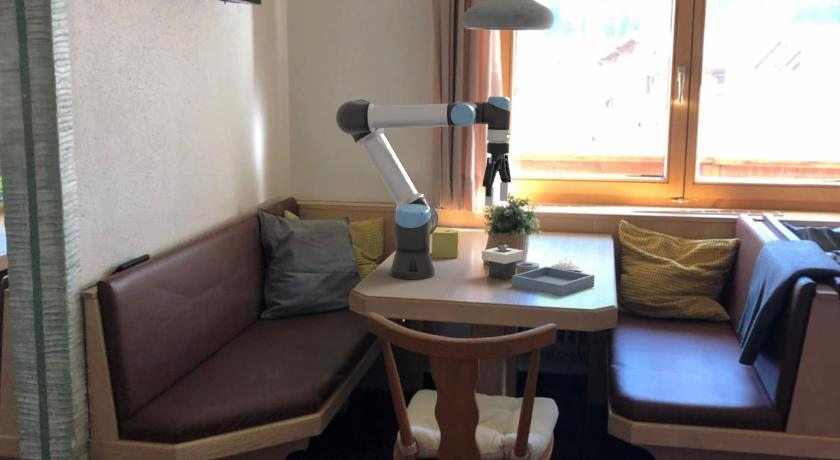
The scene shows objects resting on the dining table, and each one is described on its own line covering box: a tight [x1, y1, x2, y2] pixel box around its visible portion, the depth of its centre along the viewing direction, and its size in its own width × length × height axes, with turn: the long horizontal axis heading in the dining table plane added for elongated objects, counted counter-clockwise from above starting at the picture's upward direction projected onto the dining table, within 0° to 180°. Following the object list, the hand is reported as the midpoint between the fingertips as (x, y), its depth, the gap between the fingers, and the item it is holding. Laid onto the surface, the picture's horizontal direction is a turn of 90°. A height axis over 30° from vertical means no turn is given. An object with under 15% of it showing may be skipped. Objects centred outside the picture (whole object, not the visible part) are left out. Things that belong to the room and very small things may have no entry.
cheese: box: [431, 226, 461, 259], centre depth 326 cm, size 10×11×10 cm
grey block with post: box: [488, 243, 517, 281], centre depth 292 cm, size 6×6×11 cm
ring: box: [481, 247, 525, 264], centre depth 292 cm, size 10×12×3 cm
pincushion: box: [550, 259, 584, 272], centre depth 302 cm, size 12×6×6 cm, turn 74°
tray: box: [511, 266, 596, 297], centre depth 280 cm, size 19×19×4 cm
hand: (496, 203), depth 299 cm, fingers open, 13 cm apart
